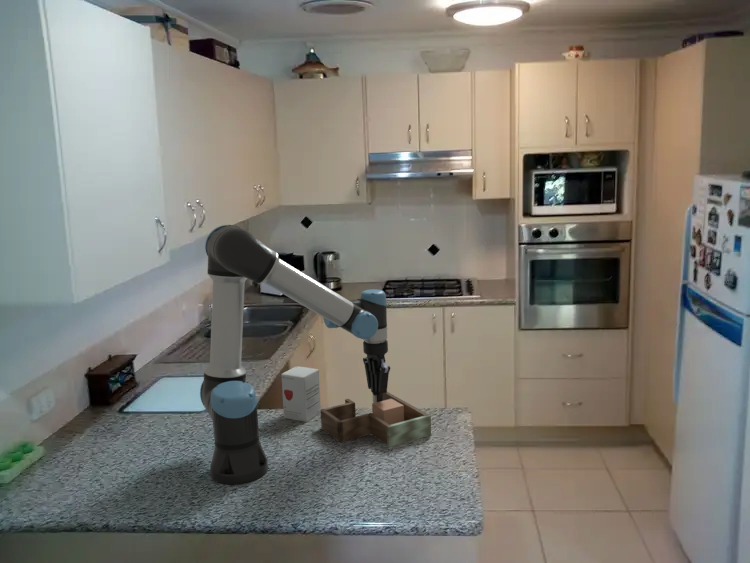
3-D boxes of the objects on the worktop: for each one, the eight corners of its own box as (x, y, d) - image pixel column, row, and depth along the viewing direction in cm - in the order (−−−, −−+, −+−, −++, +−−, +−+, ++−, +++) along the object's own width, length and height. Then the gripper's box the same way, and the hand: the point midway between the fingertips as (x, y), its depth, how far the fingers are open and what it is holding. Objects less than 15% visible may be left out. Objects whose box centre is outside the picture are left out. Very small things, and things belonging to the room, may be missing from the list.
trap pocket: (339, 442, 197) (338, 422, 196) (321, 428, 208) (320, 409, 207) (372, 433, 203) (371, 414, 202) (352, 420, 213) (351, 402, 212)
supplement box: (282, 418, 217) (279, 373, 214) (298, 408, 225) (295, 365, 222) (306, 422, 213) (303, 377, 210) (321, 412, 220) (319, 368, 218)
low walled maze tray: (389, 447, 193) (388, 427, 192) (345, 417, 216) (345, 399, 215) (431, 435, 200) (430, 415, 199) (384, 407, 223) (384, 389, 222)
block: (384, 432, 203) (383, 410, 202) (372, 424, 209) (372, 403, 208) (404, 427, 206) (403, 405, 205) (392, 419, 212) (391, 398, 211)
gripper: (397, 342, 204) (399, 416, 208) (375, 333, 215) (378, 403, 219) (375, 347, 200) (378, 422, 205) (354, 337, 211) (357, 409, 216)
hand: (378, 412), depth 212 cm, fingers closed
